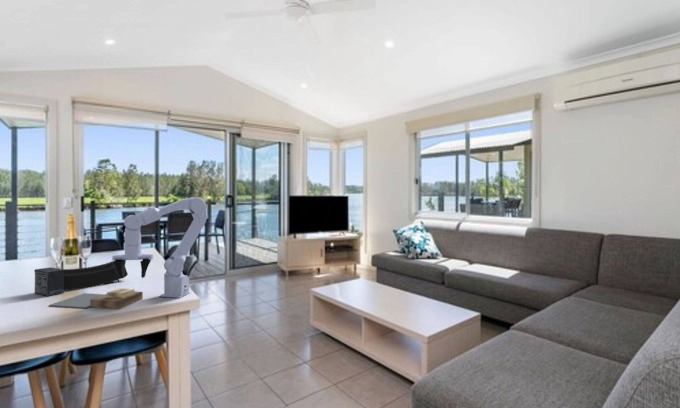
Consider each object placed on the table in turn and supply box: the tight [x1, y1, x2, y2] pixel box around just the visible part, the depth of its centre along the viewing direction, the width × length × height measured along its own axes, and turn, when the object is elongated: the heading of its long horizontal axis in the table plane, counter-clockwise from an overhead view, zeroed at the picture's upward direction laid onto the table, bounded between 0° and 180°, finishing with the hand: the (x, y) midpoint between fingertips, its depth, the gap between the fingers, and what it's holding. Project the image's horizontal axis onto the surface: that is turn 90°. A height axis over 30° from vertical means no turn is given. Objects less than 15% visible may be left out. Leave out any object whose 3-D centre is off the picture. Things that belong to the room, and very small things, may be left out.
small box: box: [34, 267, 65, 297], centre depth 149 cm, size 11×6×10 cm, turn 65°
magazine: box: [56, 261, 129, 291], centre depth 161 cm, size 17×3×30 cm
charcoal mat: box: [48, 292, 106, 309], centre depth 140 cm, size 16×16×1 cm
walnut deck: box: [89, 290, 143, 310], centre depth 138 cm, size 12×13×3 cm
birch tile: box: [106, 288, 135, 298], centre depth 138 cm, size 7×6×2 cm
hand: (133, 277), depth 141 cm, fingers open, 7 cm apart
